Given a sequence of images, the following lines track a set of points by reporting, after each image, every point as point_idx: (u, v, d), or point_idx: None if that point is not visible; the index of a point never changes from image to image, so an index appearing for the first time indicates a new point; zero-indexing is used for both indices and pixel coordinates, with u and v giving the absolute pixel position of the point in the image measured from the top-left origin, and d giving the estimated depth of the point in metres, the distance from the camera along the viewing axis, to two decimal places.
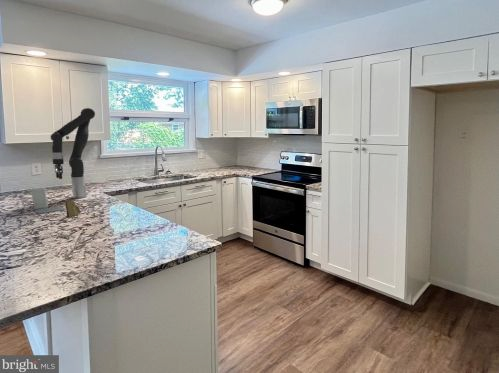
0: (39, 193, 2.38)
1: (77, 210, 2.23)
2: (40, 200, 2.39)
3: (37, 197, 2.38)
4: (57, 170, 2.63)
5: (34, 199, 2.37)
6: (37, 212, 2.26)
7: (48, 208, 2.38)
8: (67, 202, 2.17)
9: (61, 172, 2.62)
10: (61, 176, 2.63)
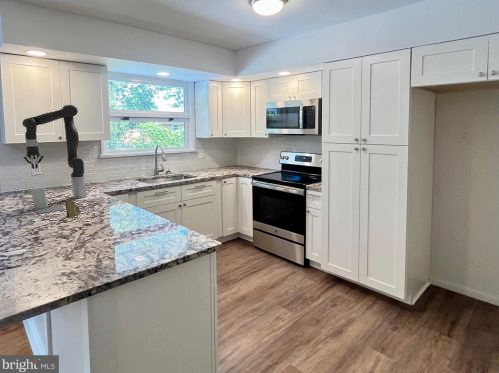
0: (39, 193, 2.38)
1: (77, 210, 2.23)
2: (40, 200, 2.39)
3: (37, 197, 2.38)
4: None
5: (34, 199, 2.37)
6: (37, 212, 2.26)
7: (48, 208, 2.38)
8: (67, 202, 2.17)
9: None
10: (37, 165, 2.53)
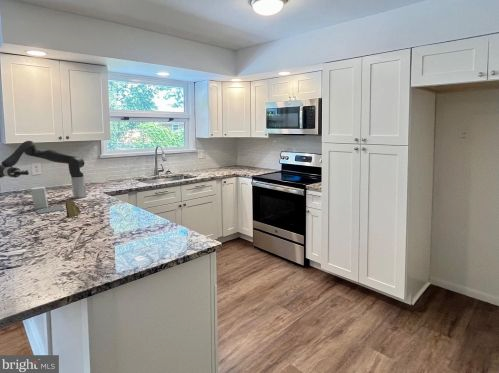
0: (39, 193, 2.38)
1: (77, 210, 2.23)
2: (40, 200, 2.39)
3: (37, 197, 2.38)
4: (23, 170, 2.45)
5: (34, 199, 2.37)
6: (37, 212, 2.26)
7: (48, 208, 2.38)
8: (67, 202, 2.17)
9: None
10: None
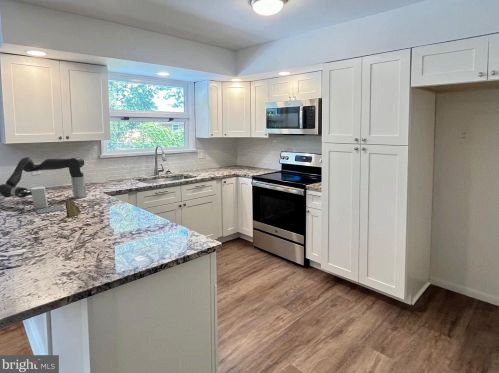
0: (39, 193, 2.37)
1: (77, 210, 2.23)
2: (40, 200, 2.38)
3: (37, 197, 2.37)
4: (30, 190, 2.45)
5: (34, 199, 2.37)
6: (37, 212, 2.26)
7: (48, 208, 2.38)
8: (67, 202, 2.17)
9: None
10: None
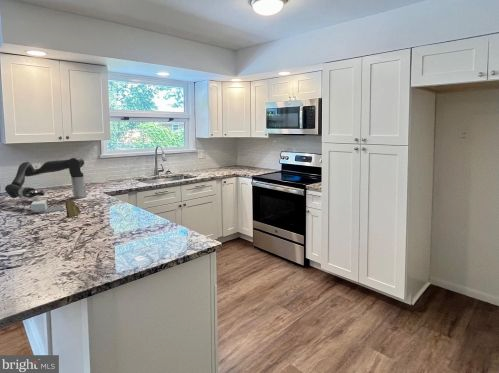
0: None
1: (77, 210, 2.23)
2: None
3: None
4: None
5: None
6: (37, 212, 2.26)
7: (48, 208, 2.38)
8: (67, 202, 2.17)
9: None
10: None
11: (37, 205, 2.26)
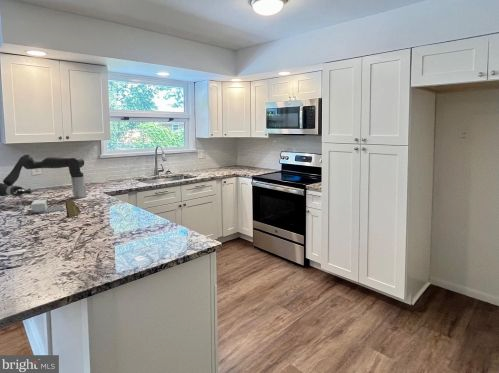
0: None
1: (77, 210, 2.23)
2: None
3: None
4: (25, 189, 2.48)
5: None
6: (37, 212, 2.26)
7: (48, 208, 2.38)
8: (67, 202, 2.17)
9: None
10: None
11: (37, 205, 2.26)
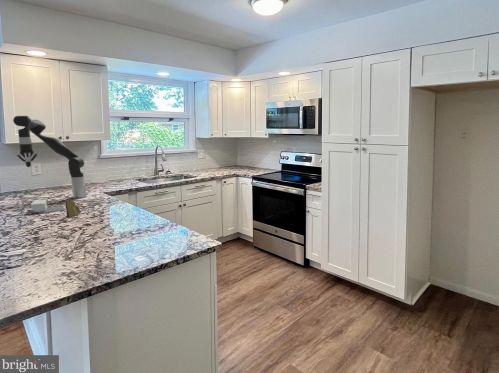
0: None
1: (77, 210, 2.23)
2: None
3: None
4: (24, 157, 2.47)
5: None
6: (37, 212, 2.26)
7: (48, 208, 2.38)
8: (67, 202, 2.17)
9: None
10: (26, 164, 2.46)
11: (37, 205, 2.26)
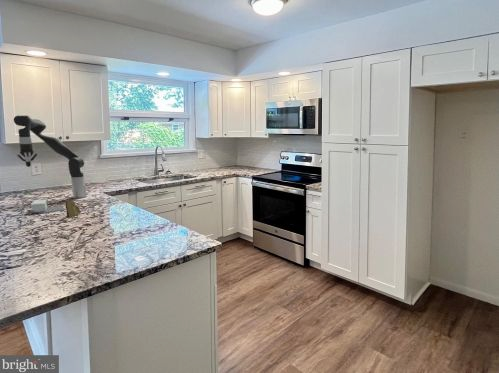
0: None
1: (77, 210, 2.23)
2: None
3: None
4: None
5: None
6: (37, 212, 2.26)
7: (48, 208, 2.38)
8: (67, 202, 2.17)
9: (22, 159, 2.44)
10: (26, 164, 2.46)
11: (37, 205, 2.26)
